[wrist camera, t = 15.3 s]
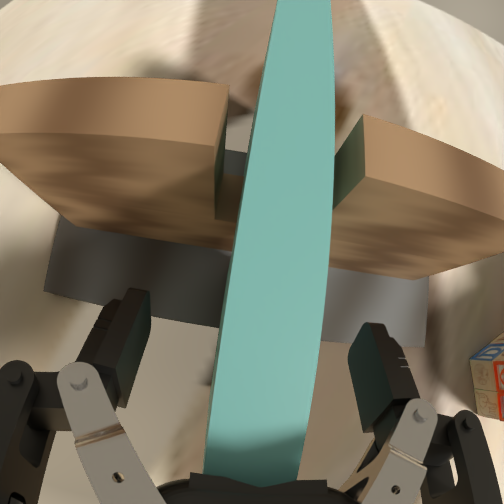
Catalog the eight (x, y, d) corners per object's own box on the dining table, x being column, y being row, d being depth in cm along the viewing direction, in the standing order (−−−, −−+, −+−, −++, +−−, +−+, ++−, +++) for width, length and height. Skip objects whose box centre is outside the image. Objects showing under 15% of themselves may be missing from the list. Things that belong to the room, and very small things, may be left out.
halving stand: (51, 293, 19) (-87, 249, 6) (93, 143, 22) (28, 19, 9) (415, 346, 21) (559, 345, 8) (418, 200, 24) (528, 120, 11)
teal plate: (248, 402, 18) (292, 499, 6) (209, 398, 18) (200, 493, 6) (285, 120, 23) (329, -8, 11) (254, 114, 23) (281, -19, 11)
